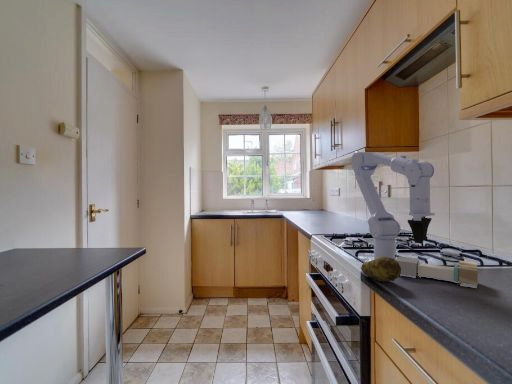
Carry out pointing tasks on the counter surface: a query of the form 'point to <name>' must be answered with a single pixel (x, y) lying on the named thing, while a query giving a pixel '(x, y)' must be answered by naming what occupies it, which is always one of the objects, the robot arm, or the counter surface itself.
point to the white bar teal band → (439, 271)
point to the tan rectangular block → (468, 272)
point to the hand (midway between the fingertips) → (420, 241)
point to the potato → (382, 269)
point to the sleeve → (408, 265)
